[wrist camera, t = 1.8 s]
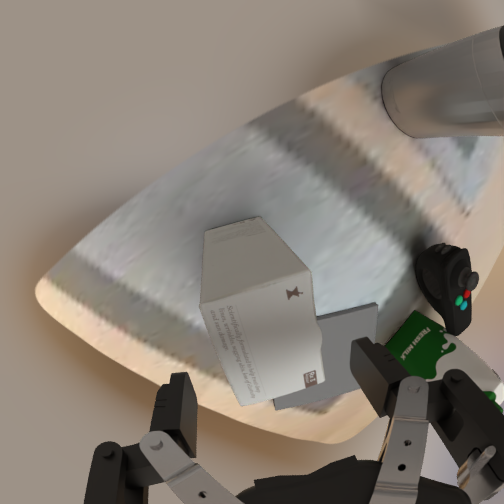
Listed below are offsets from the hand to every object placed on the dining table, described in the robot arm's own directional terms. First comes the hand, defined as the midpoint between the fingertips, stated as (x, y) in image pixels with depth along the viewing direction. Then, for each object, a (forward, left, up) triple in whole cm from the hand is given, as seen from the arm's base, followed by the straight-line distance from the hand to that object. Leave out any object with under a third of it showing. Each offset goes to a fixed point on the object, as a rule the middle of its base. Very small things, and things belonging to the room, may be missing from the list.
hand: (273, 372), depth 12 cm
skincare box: (0, 0, -17) cm, 17 cm away
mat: (-8, +15, -17) cm, 24 cm away
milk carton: (-22, +16, -17) cm, 32 cm away
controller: (-23, +6, -17) cm, 29 cm away
